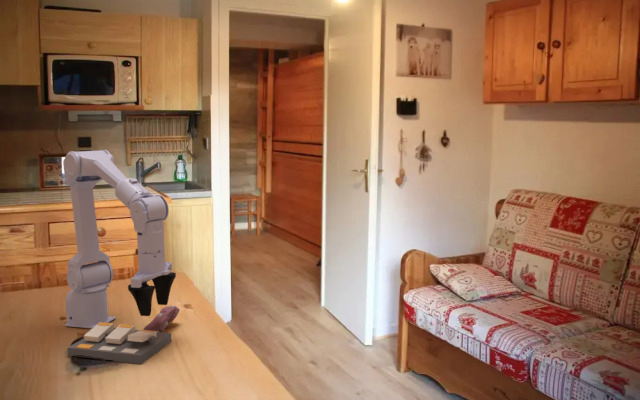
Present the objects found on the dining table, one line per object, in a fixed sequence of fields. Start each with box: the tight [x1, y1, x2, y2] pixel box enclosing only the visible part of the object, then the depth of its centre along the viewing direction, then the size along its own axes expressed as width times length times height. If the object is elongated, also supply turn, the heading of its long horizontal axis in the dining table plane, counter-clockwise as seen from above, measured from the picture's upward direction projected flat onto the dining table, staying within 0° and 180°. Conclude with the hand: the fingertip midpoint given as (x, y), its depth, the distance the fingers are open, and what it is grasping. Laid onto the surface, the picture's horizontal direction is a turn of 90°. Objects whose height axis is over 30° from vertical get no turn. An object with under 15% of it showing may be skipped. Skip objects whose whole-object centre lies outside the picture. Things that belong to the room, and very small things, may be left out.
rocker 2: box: [105, 323, 136, 344], centre depth 129 cm, size 4×6×1 cm, turn 166°
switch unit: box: [66, 327, 172, 365], centre depth 129 cm, size 18×13×4 cm
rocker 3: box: [127, 329, 158, 342], centre depth 127 cm, size 4×6×1 cm, turn 166°
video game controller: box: [142, 304, 180, 332], centre depth 141 cm, size 10×5×7 cm, turn 169°
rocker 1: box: [83, 322, 115, 342], centre depth 130 cm, size 4×6×1 cm, turn 166°
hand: (154, 309), depth 128 cm, fingers open, 7 cm apart
